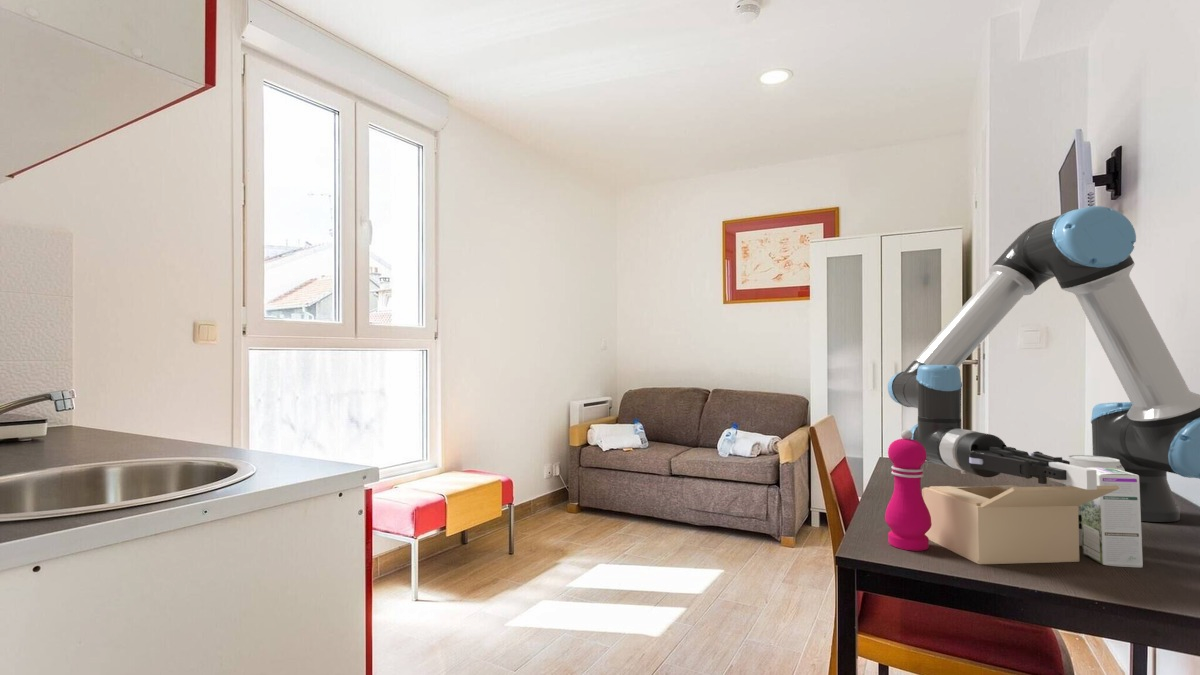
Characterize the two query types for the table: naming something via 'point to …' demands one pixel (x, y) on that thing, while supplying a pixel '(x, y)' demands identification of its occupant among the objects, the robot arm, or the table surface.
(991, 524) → the carton
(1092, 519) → the syrup box
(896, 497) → the pepper mill
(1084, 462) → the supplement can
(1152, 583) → the table surface
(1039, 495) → the long flap
